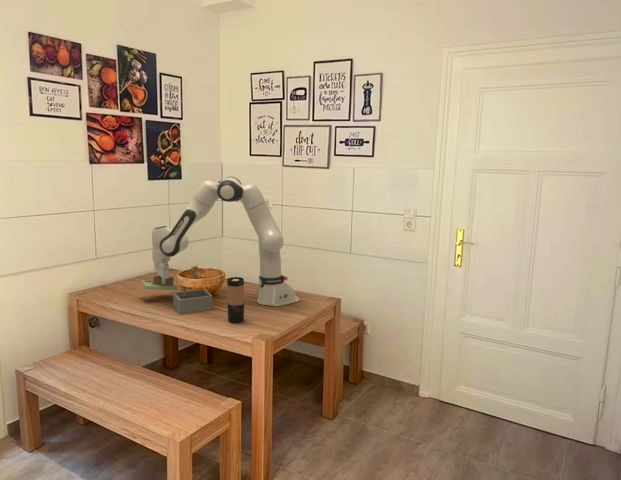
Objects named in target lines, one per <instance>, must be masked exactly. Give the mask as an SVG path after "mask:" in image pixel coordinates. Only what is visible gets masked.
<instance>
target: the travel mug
mask: <svg viewBox="0 0 621 480" xmlns="http://www.w3.org/2000/svg"><path fill="white" fill-rule="evenodd" d="M244 282H245V279H244V278H243V277H239V276H233V277H229V278H227V279H226V284H227V287H226V288H227V291H226V292H227V296H226V297H227V299H226V301H227V304H226V305H227V319H228V320H227V321H228V322H229V323H230V324H241V323H243V322H244V320H245V285H244V284H245V283H244Z"/></svg>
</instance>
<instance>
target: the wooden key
mask: <svg viewBox="0 0 621 480" xmlns="http://www.w3.org/2000/svg"><path fill="white" fill-rule="evenodd" d="M190 270H191V273H190V274H191V280H192V279H200V278H199V277H200V276H199V266H198V265H192V266H191V268H190Z"/></svg>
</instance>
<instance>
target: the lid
mask: <svg viewBox="0 0 621 480" xmlns="http://www.w3.org/2000/svg"><path fill="white" fill-rule="evenodd" d="M174 279H175V277H174V276H169V278H168V279H166V280H165V284H164V285H162V284H161V277H160V276H159V275H153V276H152V279H141V280H140V283H141V285H142V287H143V288H144V290H157V291H158V290H163V291H178V286H177V285H176V284H175V283H174Z"/></svg>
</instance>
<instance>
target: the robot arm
mask: <svg viewBox="0 0 621 480" xmlns="http://www.w3.org/2000/svg"><path fill="white" fill-rule="evenodd" d="M219 199H221V201H223V202H226V203H227V202H228V203H229V202H230V203H231V202H239V201H240V202H241V204H242V206H243V208H244V210H245V212H246V214H247V216H248V218H249V221H250V223H251V225H252V227H253V229H254V231H255V234H256V235H257V237H258V239H257V240H258V255H259V275H258V286H259V287H258V288H259V289H258V295H257V296H258V297H257V299H256V303H258V304H260V305H263V306H272V307H280V306H281V307H282V306H286V305H289V304H290V305H291V304H295V303H299V302H300V297H298V296H297V295H296V292H295V289H294V287H293V286H291V285H289V284H288V282H287V281H288V279H289V278H288V276H285V275H283V274H282V258H281V249H282V247H283V246H284V236H283V235H282V233H281V231H280V229H279V227H278V225H277V223H276V221H275V219H274V217H273V215H272V213H271V211H270V208H269V205H268V203H267V202H266V199H265V197H264V196H263V194H262V192H261V190H260V189H259V188H258V186H257V185H256V184H254V183H247V184H242V181H241V180H239V178H237V177H235V176H228V177H225V178H224V179H221V180H219V181H218V182H215V181H214V180H208V179H207V180H204V181H203V182H202V183H200V185H199V186H198V187H197V189H196V190H195V192H194V193H193V195H192V196H191V199H190V200H189V201H188V204H187V206H186V208H185V209H184V211H183V212H182V214H181V216H180V217H179V219H178V221H177V223H176V224H175V225H174V227H173V228H172V229H171V228H170V227H169V226H165V225H162V226H158V227H155V228H154V229H152V233H151V246H152V262H153V265H154V270H155V271H154V272H156V273H157V274H158V276H160V277H161V284H162V285H164V284H165V280H166V279H168V278H169V277H170V266H169V262H170V261H171V257H175V256H177V254H179V253H181V252H183V251H185V250H186V249H187V248H188V246H189V244H190V243H189V238H188V236H187V235H186V234H187V232H188V231H189V230H190V228H191V227H192V226H193V225H194V224H195V223H197V222H198V221H200V220H201V219H203V218H205V217H206V216H207V215H208V214H209V212H210V211H212V208H213V207H214V205H215V203H216V201H218V200H219ZM285 281H286V282H285Z"/></svg>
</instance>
